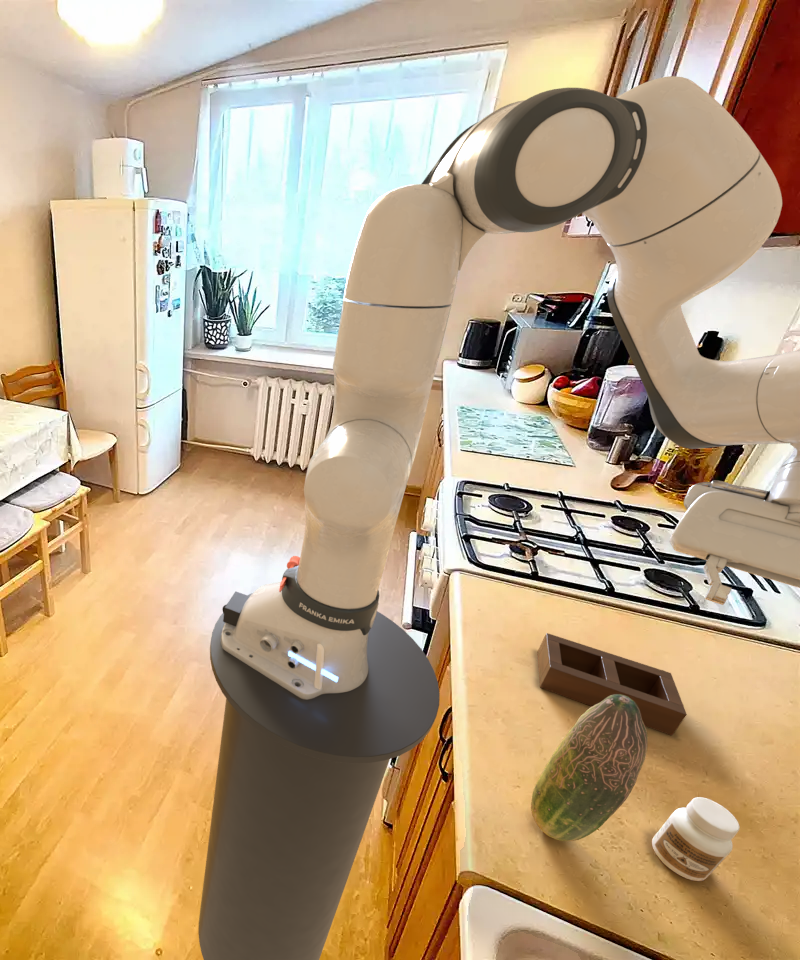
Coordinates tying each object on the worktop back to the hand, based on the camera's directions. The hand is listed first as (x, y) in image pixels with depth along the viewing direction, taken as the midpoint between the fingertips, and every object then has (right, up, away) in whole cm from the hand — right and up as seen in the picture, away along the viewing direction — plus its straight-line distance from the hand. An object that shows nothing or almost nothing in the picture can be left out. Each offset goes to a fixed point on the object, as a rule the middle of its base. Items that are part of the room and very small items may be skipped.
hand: (778, 622), depth 53 cm
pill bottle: (-10, -25, +1) cm, 27 cm away
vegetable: (-21, -23, +3) cm, 31 cm away
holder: (-1, -15, +20) cm, 25 cm away
